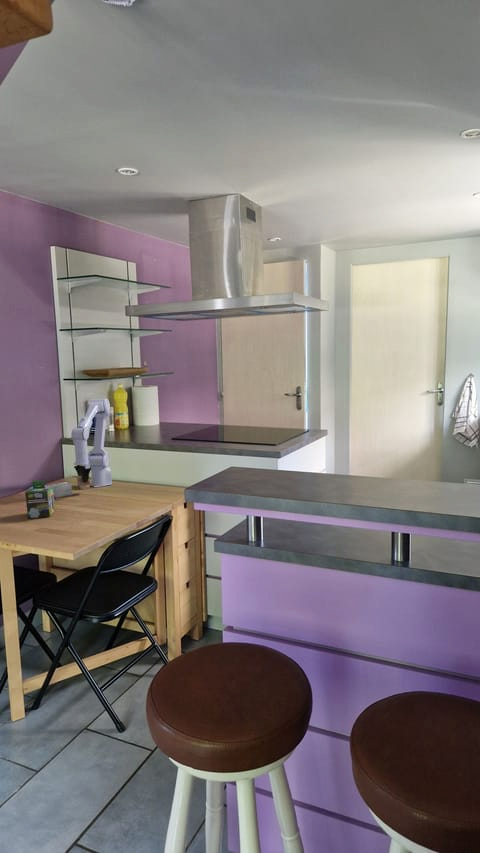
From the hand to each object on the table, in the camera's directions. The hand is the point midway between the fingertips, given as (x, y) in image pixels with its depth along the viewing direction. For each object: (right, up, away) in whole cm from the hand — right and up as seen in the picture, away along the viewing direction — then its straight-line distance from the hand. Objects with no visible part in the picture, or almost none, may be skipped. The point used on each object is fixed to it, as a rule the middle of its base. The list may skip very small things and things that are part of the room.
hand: (83, 481), depth 257 cm
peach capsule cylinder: (-3, -5, +12) cm, 13 cm away
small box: (-11, -7, +1) cm, 13 cm away
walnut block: (0, -2, 0) cm, 2 cm away
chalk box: (-8, -11, -32) cm, 35 cm away
